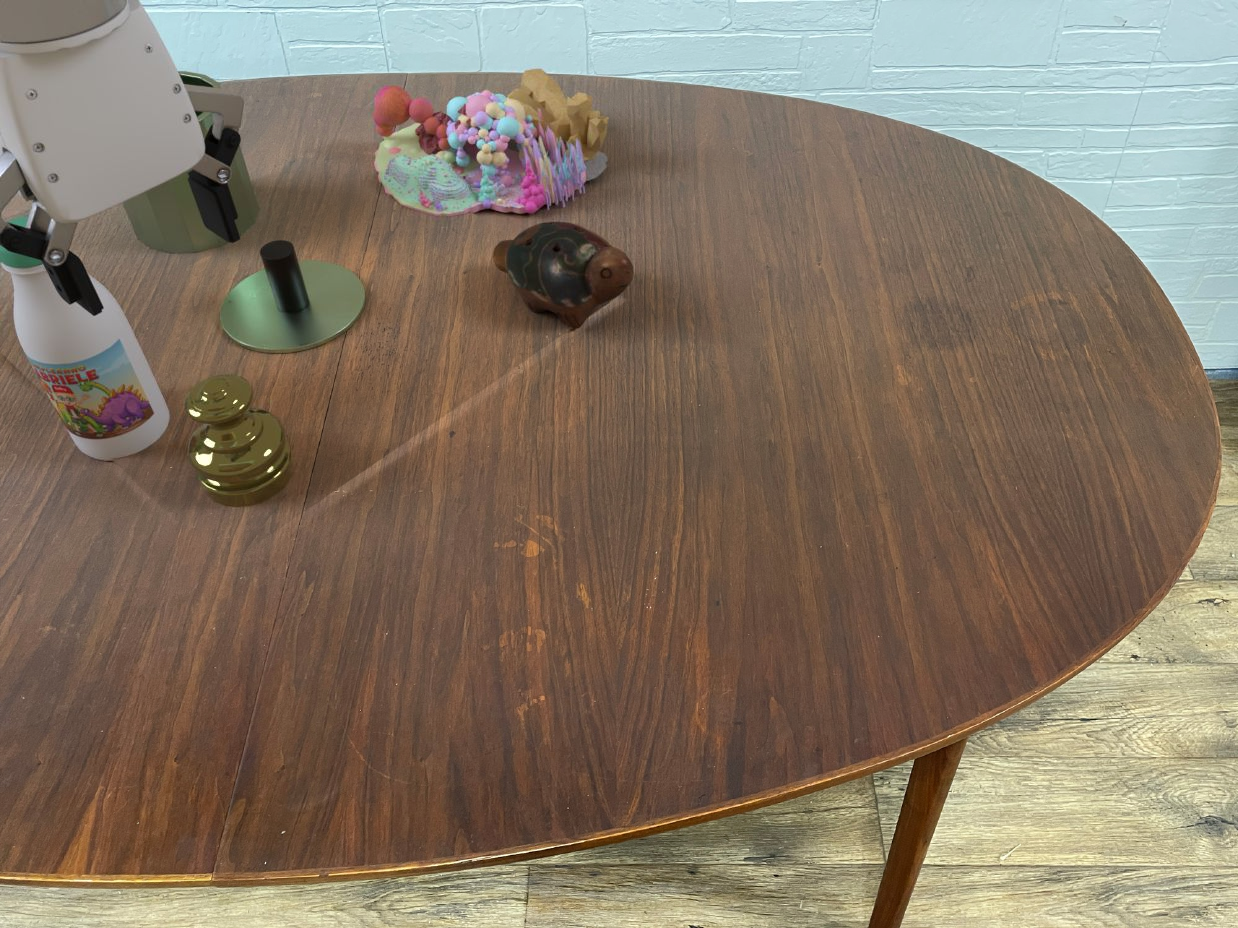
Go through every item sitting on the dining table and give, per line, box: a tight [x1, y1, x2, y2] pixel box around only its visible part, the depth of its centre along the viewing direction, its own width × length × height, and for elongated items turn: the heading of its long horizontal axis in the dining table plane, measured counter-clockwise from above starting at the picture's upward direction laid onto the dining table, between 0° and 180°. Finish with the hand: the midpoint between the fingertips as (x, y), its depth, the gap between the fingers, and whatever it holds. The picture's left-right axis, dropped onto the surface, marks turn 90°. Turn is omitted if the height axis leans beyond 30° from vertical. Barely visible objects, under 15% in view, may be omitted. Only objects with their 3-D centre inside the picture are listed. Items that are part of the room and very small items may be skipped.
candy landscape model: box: [373, 68, 609, 218], centre depth 112 cm, size 25×24×9 cm
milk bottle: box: [0, 214, 171, 462], centre depth 81 cm, size 8×8×20 cm
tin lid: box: [219, 239, 367, 354], centre depth 96 cm, size 13×13×7 cm
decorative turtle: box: [492, 221, 634, 330], centre depth 96 cm, size 10×15×8 cm, turn 63°
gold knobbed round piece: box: [183, 373, 296, 508], centre depth 81 cm, size 7×7×10 cm
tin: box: [122, 70, 260, 254], centre depth 104 cm, size 12×12×14 cm
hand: (157, 268), depth 66 cm, fingers open, 9 cm apart
